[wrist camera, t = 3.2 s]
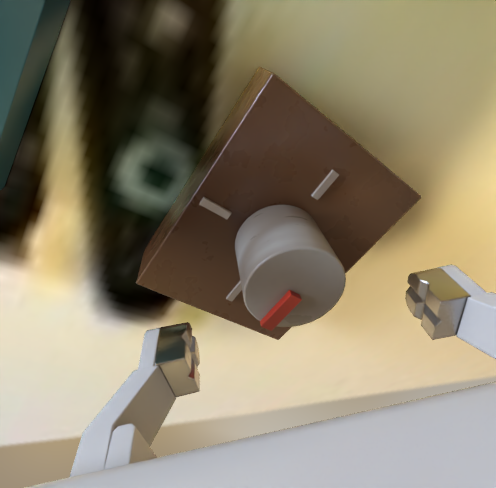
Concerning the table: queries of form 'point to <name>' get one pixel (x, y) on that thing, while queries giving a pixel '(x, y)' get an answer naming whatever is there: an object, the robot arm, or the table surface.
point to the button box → (23, 66)
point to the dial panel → (269, 197)
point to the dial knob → (287, 267)
